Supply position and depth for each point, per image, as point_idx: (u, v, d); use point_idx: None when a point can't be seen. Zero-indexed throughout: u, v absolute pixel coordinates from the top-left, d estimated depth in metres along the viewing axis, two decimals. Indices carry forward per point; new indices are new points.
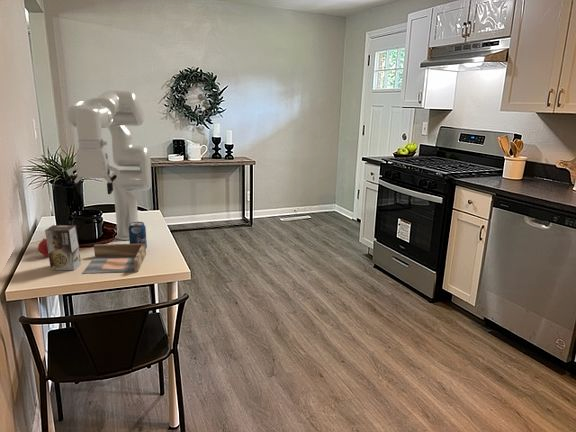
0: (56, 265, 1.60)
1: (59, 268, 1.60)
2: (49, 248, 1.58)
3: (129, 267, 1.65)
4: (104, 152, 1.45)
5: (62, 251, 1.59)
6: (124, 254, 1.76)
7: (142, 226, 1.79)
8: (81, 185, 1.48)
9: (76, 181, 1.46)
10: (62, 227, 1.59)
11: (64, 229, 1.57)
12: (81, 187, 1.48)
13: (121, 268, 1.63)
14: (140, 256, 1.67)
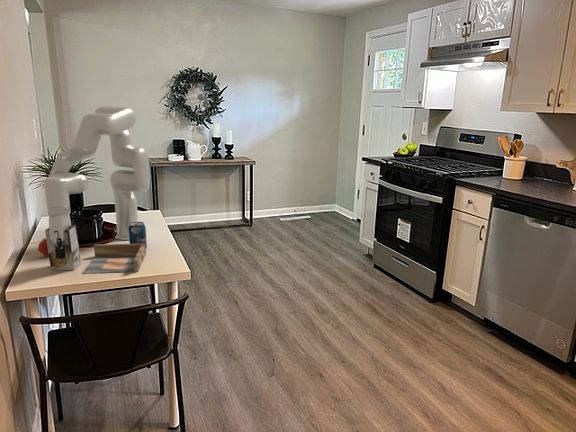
0: (56, 265, 1.60)
1: (59, 268, 1.60)
2: (49, 248, 1.58)
3: (129, 267, 1.65)
4: None
5: None
6: (124, 254, 1.76)
7: (142, 226, 1.79)
8: None
9: (62, 247, 1.57)
10: None
11: None
12: None
13: (121, 268, 1.63)
14: (140, 256, 1.67)
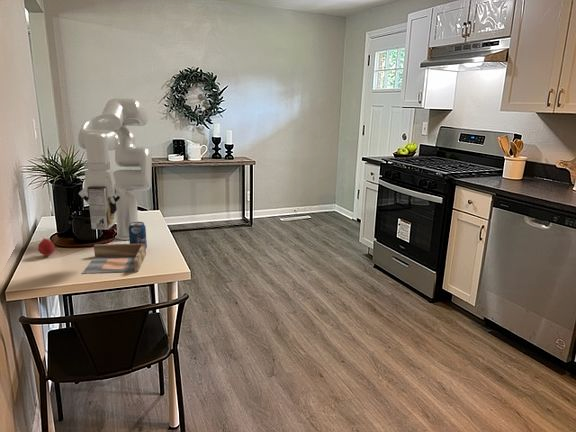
0: (110, 222, 1.60)
1: (111, 225, 1.61)
2: (106, 206, 1.57)
3: (129, 267, 1.65)
4: None
5: None
6: (124, 254, 1.76)
7: (142, 226, 1.79)
8: None
9: None
10: None
11: None
12: None
13: (121, 268, 1.63)
14: (140, 256, 1.67)
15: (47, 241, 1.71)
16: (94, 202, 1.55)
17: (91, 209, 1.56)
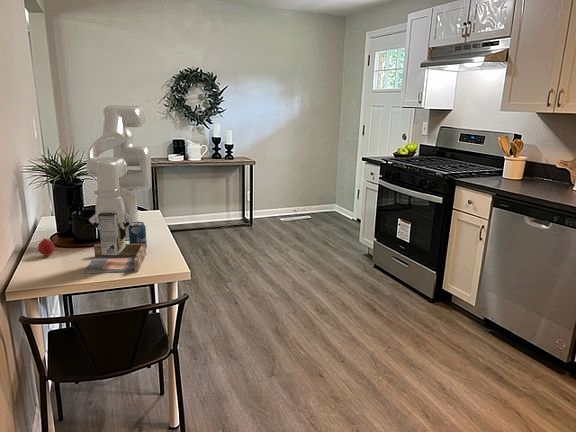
0: (120, 247, 1.63)
1: (121, 250, 1.64)
2: (117, 232, 1.60)
3: (129, 267, 1.65)
4: None
5: None
6: (124, 254, 1.76)
7: (142, 226, 1.79)
8: None
9: None
10: None
11: None
12: None
13: (121, 268, 1.63)
14: (140, 256, 1.67)
15: (47, 241, 1.71)
16: (104, 228, 1.58)
17: (102, 235, 1.59)
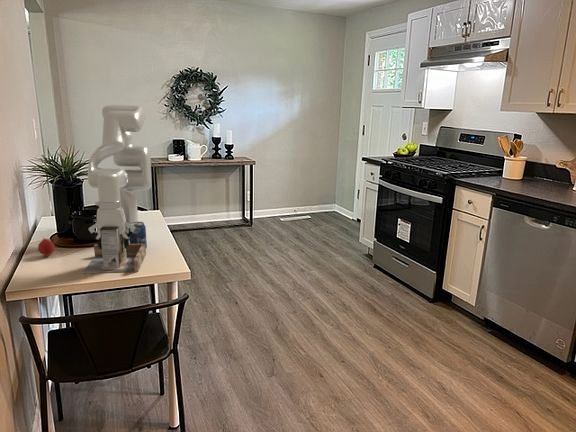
0: (121, 260, 1.65)
1: (122, 262, 1.66)
2: (118, 246, 1.62)
3: (129, 267, 1.65)
4: None
5: (123, 244, 1.66)
6: None
7: (142, 226, 1.79)
8: None
9: None
10: None
11: None
12: None
13: (121, 268, 1.63)
14: (140, 256, 1.67)
15: (47, 241, 1.71)
16: (106, 242, 1.60)
17: (103, 249, 1.61)
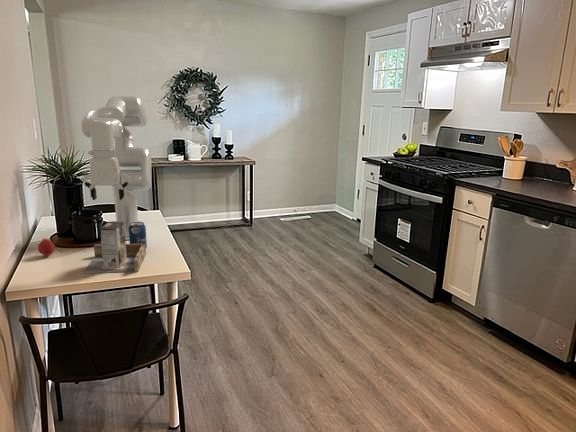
0: (121, 260, 1.65)
1: (122, 262, 1.66)
2: (118, 245, 1.62)
3: (129, 267, 1.65)
4: None
5: (123, 244, 1.67)
6: None
7: (142, 226, 1.79)
8: None
9: None
10: (112, 224, 1.63)
11: (120, 223, 1.66)
12: None
13: (121, 268, 1.63)
14: (140, 256, 1.67)
15: (47, 241, 1.71)
16: (106, 242, 1.60)
17: (103, 249, 1.61)
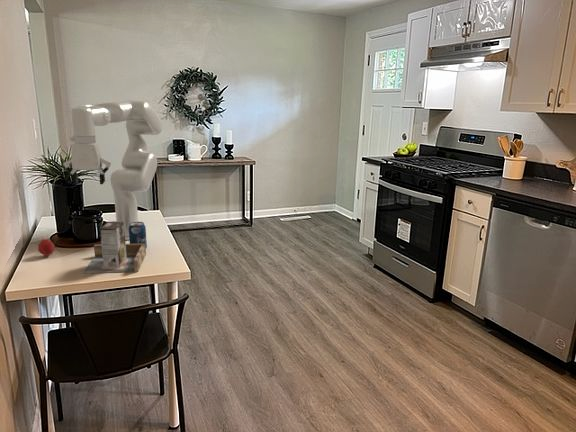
0: (121, 260, 1.65)
1: (122, 262, 1.66)
2: (118, 245, 1.62)
3: (129, 267, 1.65)
4: None
5: (123, 244, 1.67)
6: None
7: (142, 226, 1.79)
8: None
9: None
10: (112, 224, 1.63)
11: (120, 223, 1.66)
12: None
13: (121, 268, 1.63)
14: (140, 256, 1.67)
15: (47, 241, 1.71)
16: (106, 242, 1.60)
17: (103, 249, 1.61)
